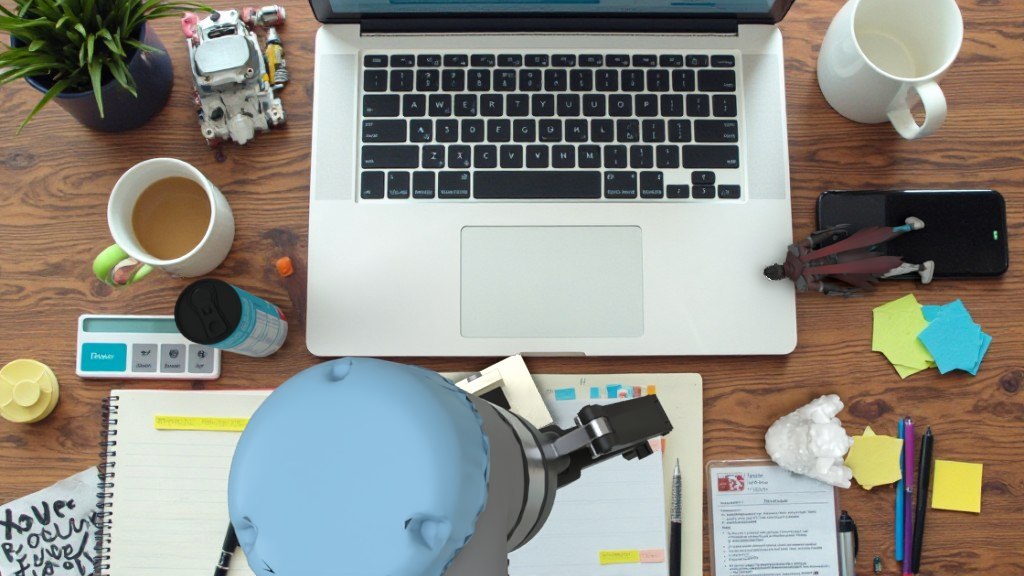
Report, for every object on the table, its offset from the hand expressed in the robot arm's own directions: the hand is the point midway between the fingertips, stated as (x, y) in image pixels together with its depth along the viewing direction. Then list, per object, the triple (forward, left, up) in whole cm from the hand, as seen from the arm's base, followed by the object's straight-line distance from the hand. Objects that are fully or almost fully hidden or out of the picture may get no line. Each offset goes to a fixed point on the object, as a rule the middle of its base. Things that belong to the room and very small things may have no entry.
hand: (541, 482), depth 57 cm
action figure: (+22, -31, -24) cm, 45 cm away
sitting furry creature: (+3, -27, -24) cm, 36 cm away
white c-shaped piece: (+5, +5, -23) cm, 24 cm away
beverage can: (+12, +30, -24) cm, 40 cm away
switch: (+3, +10, -10) cm, 14 cm away
